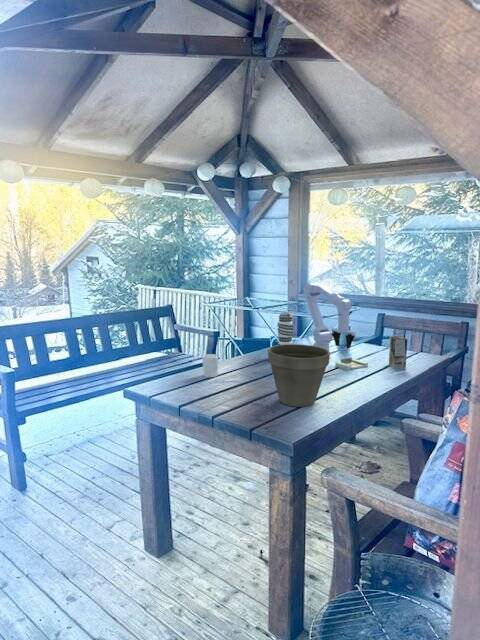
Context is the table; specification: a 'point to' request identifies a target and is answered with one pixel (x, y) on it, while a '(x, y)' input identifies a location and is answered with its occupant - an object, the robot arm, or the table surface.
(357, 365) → the sliding lid with handle
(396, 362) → the coffee box
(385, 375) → the table surface
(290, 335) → the decorative candle
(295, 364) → the plant pot
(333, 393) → the table surface
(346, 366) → the box
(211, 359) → the white cup
